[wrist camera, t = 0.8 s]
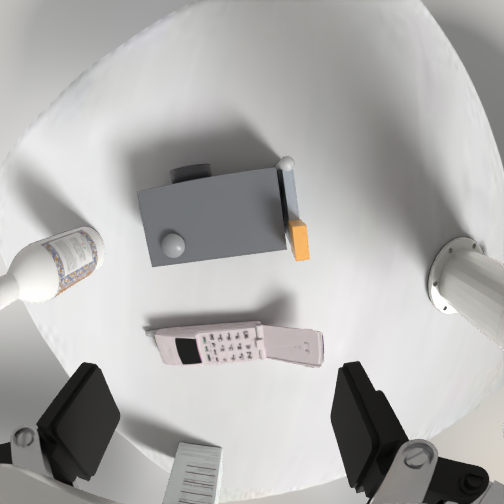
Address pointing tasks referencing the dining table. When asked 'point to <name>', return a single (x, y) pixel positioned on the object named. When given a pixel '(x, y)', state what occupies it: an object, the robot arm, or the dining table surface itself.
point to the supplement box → (195, 475)
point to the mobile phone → (238, 344)
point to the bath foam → (52, 266)
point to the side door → (292, 210)
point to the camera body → (212, 215)
